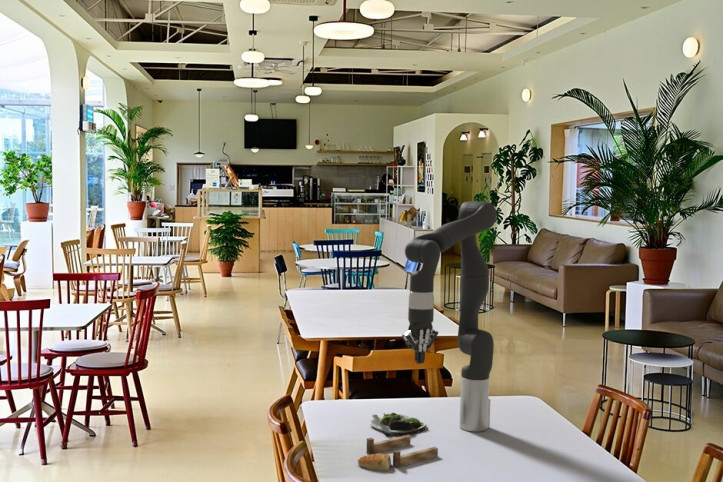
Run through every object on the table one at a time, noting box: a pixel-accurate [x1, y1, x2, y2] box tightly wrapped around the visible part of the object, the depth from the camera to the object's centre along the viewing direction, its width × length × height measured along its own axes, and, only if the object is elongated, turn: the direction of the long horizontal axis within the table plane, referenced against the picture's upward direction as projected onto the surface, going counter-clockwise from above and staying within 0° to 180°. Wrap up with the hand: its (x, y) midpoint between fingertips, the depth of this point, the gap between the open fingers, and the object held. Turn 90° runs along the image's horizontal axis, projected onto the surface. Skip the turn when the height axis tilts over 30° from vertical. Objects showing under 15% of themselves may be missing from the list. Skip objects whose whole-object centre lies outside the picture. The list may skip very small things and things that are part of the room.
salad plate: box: [369, 411, 427, 437], centre depth 251 cm, size 19×18×5 cm
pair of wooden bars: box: [366, 435, 439, 468], centre depth 225 cm, size 16×14×4 cm
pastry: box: [357, 452, 392, 472], centre depth 216 cm, size 9×7×4 cm
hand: (419, 363), depth 226 cm, fingers closed
